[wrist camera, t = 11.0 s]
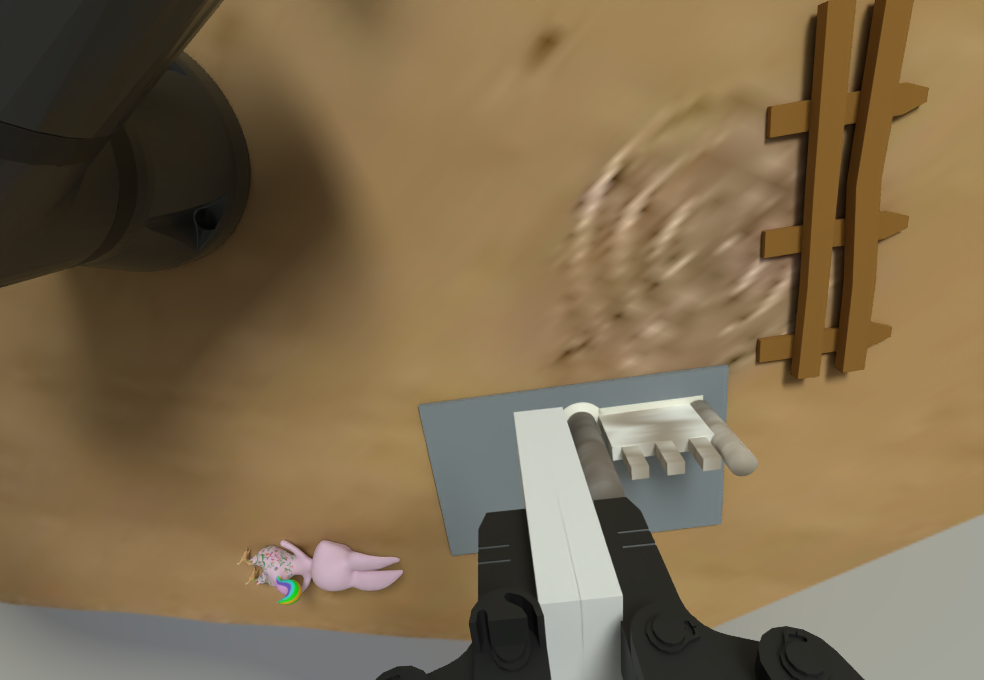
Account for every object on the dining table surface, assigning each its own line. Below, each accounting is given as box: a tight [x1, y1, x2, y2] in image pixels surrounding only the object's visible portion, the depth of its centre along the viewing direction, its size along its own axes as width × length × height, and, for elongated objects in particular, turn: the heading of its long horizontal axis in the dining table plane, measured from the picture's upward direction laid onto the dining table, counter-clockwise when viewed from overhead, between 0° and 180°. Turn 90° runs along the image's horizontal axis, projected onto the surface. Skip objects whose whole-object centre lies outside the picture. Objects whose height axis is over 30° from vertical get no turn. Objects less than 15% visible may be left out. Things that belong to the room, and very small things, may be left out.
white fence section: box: [567, 400, 758, 500], centre depth 35 cm, size 12×2×9 cm, turn 98°
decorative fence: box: [757, 0, 929, 379], centre depth 33 cm, size 25×2×10 cm
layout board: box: [418, 365, 729, 556], centre depth 41 cm, size 25×16×1 cm, turn 98°
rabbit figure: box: [238, 540, 403, 605], centre depth 42 cm, size 6×6×15 cm
